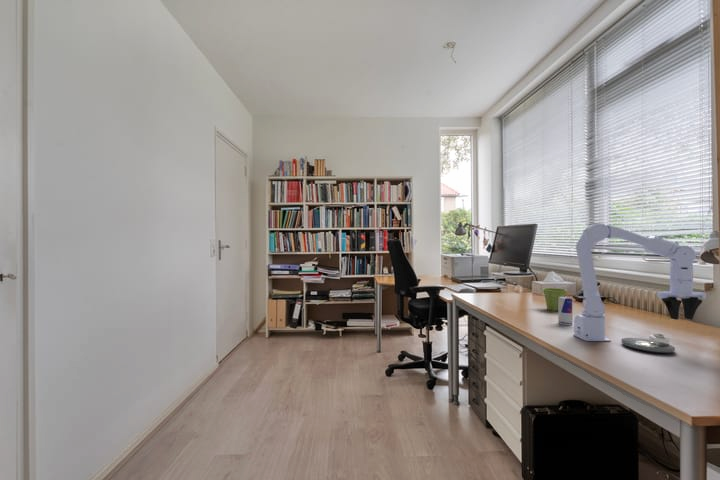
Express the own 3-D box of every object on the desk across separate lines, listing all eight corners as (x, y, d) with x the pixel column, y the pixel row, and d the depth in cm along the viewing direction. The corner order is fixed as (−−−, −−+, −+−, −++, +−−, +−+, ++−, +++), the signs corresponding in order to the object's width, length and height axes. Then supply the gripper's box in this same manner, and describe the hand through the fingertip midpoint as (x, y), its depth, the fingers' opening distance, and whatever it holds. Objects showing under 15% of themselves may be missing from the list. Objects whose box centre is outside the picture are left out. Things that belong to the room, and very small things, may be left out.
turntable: (642, 354, 107) (642, 350, 107) (611, 341, 121) (611, 337, 121) (687, 355, 106) (687, 350, 106) (650, 342, 120) (650, 338, 120)
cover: (657, 346, 111) (657, 336, 111) (645, 341, 116) (645, 332, 116) (673, 346, 110) (673, 336, 110) (660, 341, 116) (660, 332, 116)
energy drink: (572, 326, 143) (572, 298, 143) (558, 324, 146) (558, 297, 146) (572, 323, 148) (572, 297, 148) (558, 321, 150) (558, 296, 150)
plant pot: (567, 309, 179) (567, 288, 179) (567, 313, 169) (567, 291, 169) (542, 306, 185) (542, 287, 185) (541, 310, 175) (541, 289, 175)
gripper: (670, 281, 109) (670, 321, 109) (715, 281, 109) (715, 322, 109) (652, 278, 116) (652, 316, 116) (694, 279, 116) (694, 317, 116)
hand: (681, 318), depth 113 cm, fingers open, 4 cm apart
